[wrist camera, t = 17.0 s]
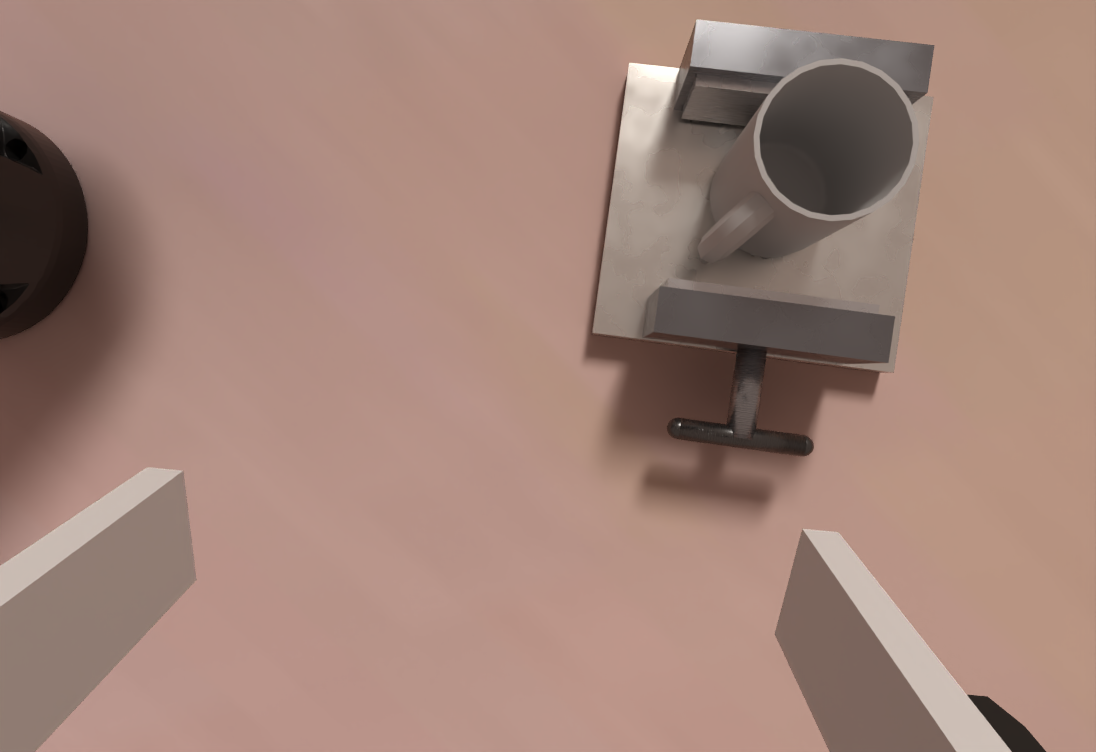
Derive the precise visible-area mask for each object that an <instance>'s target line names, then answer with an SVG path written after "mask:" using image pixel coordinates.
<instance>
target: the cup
mask: <svg viewBox="0 0 1096 752" xmlns="http://www.w3.org/2000/svg"><path fill="white" fill-rule="evenodd" d="M918 147H919V132H918V121H917V118H916V115H915V112H914V110H913V107H912V104H911V102H910V100H909V99H908V97H907V96H906V94H905V93H904V91H903V90H902V88H901V87H900V86H899V84H898V83H896V82H895V81H894V80H893V79H892V78H890V77H889V76H888V75H887V74H886V73H884V72H883V71H882V70H880V69H877V68H875V67H873V66H871V65H869V64H867V63H864V62H861V61H855V60H849V59H843V58H837V59H826V60H819V61H816V62H813V63H810V64H808V65H805V66H802V67H799V68H798V69H796V70H795V71H793V72H792V73H790V74H789V75H788V76H786V77H785V78H783V79H782V80H781V81H780V82H779V83H778V84H777V85H776V86H775V88H774V89H773V90H772V91H771V92H770V93H769V95H768V96H767V97H766V98H765V100H764V101H763V103H762V104H761V106H760V107H759V108H758V110H757V111H756V113H755V114H754V115H753V117H752V118H751V120H750V121H749V123H748V124H747V125H746V127H745V128H744V130H743V131H742V133H741V134H740V135H739V137H738V138H737V140H736V141H735V142H734V144H733V145H732V147H731V148H730V150H729V151H728V152H727V154H726V155H725V157H724V158H723V160H722V161H721V163H720V165H719V167H718V169H717V171H716V173H715V175H714V177H713V180H712V185H711V190H710V207H711V212H712V215H713V218H714V221H715V225H714V226H713V227H712V228H711V229H710V230H709V231H708V232H707V233H706V234H705V235H704V236H703V237H702V239H701V241H700V243H699V245H698V247H697V248H698V251H699V254H700V258H701V259H703V260H705V261H707V262H709V263H711V264H712V263H715V262H717V261H720V260H723V259H725V258H726V257H727V256H729V255H730V254H731V253H733V252H734V251H735V250H736V249H740V250H742V251H744V252H746V253H748V254H750V255H754V256H760V257H765V258H769V257H783V256H785V255H788V254H791V253H794V252H797V251H800V250H803V249H805V248H806V247H808V246H810V245H812V244H814V243H816V242H818V241H820V240H822V239H823V238H825V237H827V236H829V235H831V234H833V233H835V232H837V231H838V230H840V229H842V228H844V227H846V226H848V225H850V224H852V223H854V222H855V221H857V220H859V219H861V218H863V217H865V216H867V215H869V214H870V213H872V212H874V211H875V210H877V209H878V208H880V207H881V206H883V205H884V204H886V203H887V202H889V201H890V200H891V199H892V198H893V197H894V196H895V195H896V194H897V193H898V192H899V190H900V189H901V188H902V187H903V186H904V185H905V183H906V181H907V179H908V177H909V175H910V173H911V171H912V169H913V167H914V165H915V162H916V157H917V152H918Z"/></svg>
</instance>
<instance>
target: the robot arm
mask: <svg viewBox="0 0 1096 752" xmlns="http://www.w3.org/2000/svg"><path fill="white" fill-rule="evenodd" d="M86 241H87V212H86V205H85V200H84V196H83V192H82V189H81V186H80V183H79V181H78V178H77V176H76V174H75V172H74V170H73V168H72V166H71V165H70V163H69V162H68V160H67V158H66V157H65V156H64V154H63V153H62V152H61V151H60V149H59V148H58V147H57V146H56V145H55V144H54V143H53V142H52V141H51V140H50V139H49V138H48V137H46V136H45V135H44V134H43V133H41V132H40V131H39V130H37V129H36V128H34V127H33V126H31V125H29V124H27V123H25V122H23V121H21V120H19V119H17V118H15V117H12V116H10V115H8V114H6V113H3V112H1V111H0V338H4V337H8V336H11V335H14V334H16V333H19V332H21V331H23V330H25V329H27V328H29V327H31V326H33V325H34V324H36V323H37V322H39V321H40V320H41V319H43V318H44V317H45V316H46V315H48V314H49V313H50V312H51V311H52V310H53V309H54V308H55V307H56V306H57V305H58V304H59V303H60V301H61V300H62V299H63V297H64V296H65V295H66V293H67V292H68V290H69V289H70V287H71V285H72V284H73V282H74V280H75V278H76V276H77V274H78V271H79V269H80V266H81V263H82V260H83V256H84V252H85V247H86ZM195 581H196V572H195V564H194V556H193V547H192V539H191V531H190V522H189V514H188V506H187V497H186V489H185V481H184V472H183V471H182V470H171V469H160V468H150V467H147V468H145V469H144V470H142V471H141V472H139V473H138V474H136V475H135V476H133V477H132V478H130V479H129V480H127V481H126V482H124V483H123V484H121V485H120V486H118V487H117V488H115V489H114V490H113V491H111V492H110V493H108V494H107V495H105V496H104V497H102V498H101V499H99V500H98V501H96V502H95V503H93V504H92V505H90V506H89V507H87V508H86V509H84V510H83V511H81V512H80V513H78V514H77V515H75V516H74V517H72V518H71V519H69V520H68V521H66V522H65V523H63V524H62V525H60V526H59V527H57V528H56V529H54V530H53V531H51V532H50V533H48V534H47V535H45V536H44V537H42V538H41V539H40V540H38V541H37V542H35V543H34V544H32V545H31V546H29V547H28V548H26V549H25V550H23V551H22V552H20V553H19V554H17V555H16V556H14V557H13V558H11V559H10V560H8V561H7V562H5V563H4V564H2V565H1V566H0V752H35V751H36V750H37V749H38V748H39V747H40V746H41V745H42V744H43V743H44V742H45V741H46V740H47V739H48V737H49V736H50V735H51V734H52V733H53V732H54V731H55V730H56V729H57V728H58V727H59V726H60V725H61V724H62V723H63V722H64V720H65V719H66V718H67V717H68V716H69V715H70V714H71V713H72V712H73V711H74V710H75V709H76V708H77V707H78V706H79V704H80V703H81V702H82V701H83V700H84V699H85V698H86V697H87V696H88V695H89V694H90V693H91V692H92V691H93V690H94V688H95V687H96V686H97V685H98V684H99V683H100V682H101V681H102V680H103V679H104V678H105V677H106V676H107V675H108V674H109V672H110V671H111V670H112V669H113V668H114V667H115V666H116V665H117V664H118V663H119V662H120V661H121V660H122V659H123V658H124V656H125V655H126V654H127V653H128V652H129V651H130V650H131V649H132V648H133V647H134V646H135V645H136V644H137V643H138V642H139V641H140V639H141V638H142V637H143V636H144V635H145V634H146V633H147V632H148V631H149V630H150V629H151V628H152V627H153V626H154V625H155V623H156V622H157V621H158V620H159V619H160V618H161V617H162V616H163V615H164V614H165V613H166V612H167V611H168V610H169V609H170V607H171V606H172V605H173V604H174V603H175V602H176V601H177V600H178V599H179V598H180V597H181V596H182V595H183V594H184V593H185V591H186V590H187V589H188V588H189V587H190V586H191V585H192V584H193V583H194V582H195ZM775 636H776V638H777V640H778V642H779V644H780V646H781V649H782V651H783V653H784V655H785V657H786V659H787V661H788V664H789V666H790V668H791V670H792V672H793V674H794V676H795V679H796V681H797V683H798V685H799V687H800V689H801V691H802V694H803V696H804V698H805V700H806V702H807V704H808V706H809V709H810V711H811V713H812V715H813V717H814V719H815V721H816V724H817V726H818V728H819V730H820V732H821V734H822V736H823V739H824V741H825V743H826V745H827V747H828V749H829V751H830V752H1046V751H1045V750H1044V749H1043V747H1042V746H1041V745H1040V744H1039V743H1038V742H1037V740H1036V739H1035V738H1034V737H1033V736H1032V734H1031V733H1030V732H1029V731H1028V730H1027V729H1026V727H1025V726H1023V725H1022V724H1021V723H1020V722H1019V721H1017V720H1016V719H1015V718H1014V717H1012V716H1011V715H1010V714H1009V713H1007V712H1006V711H1005V710H1004V709H1002V708H1001V707H1000V706H999V705H997V704H996V703H995V702H994V701H992V700H991V699H990V698H989V697H986V696H976V695H967V694H966V693H965V692H964V691H963V689H962V688H961V687H960V686H959V684H958V683H957V682H956V681H955V679H954V678H953V677H952V675H951V674H950V673H949V672H948V670H947V669H946V668H945V667H944V665H943V664H942V663H941V662H940V660H939V659H938V658H937V656H936V655H935V654H934V653H933V651H932V650H931V649H930V648H929V646H928V645H927V644H926V643H925V641H924V640H923V639H922V637H921V636H920V635H919V634H918V632H917V631H916V630H915V629H914V627H913V626H912V625H911V624H910V622H909V621H908V620H907V618H906V617H905V616H904V615H903V613H902V612H901V611H900V610H899V608H898V607H897V606H896V605H895V603H894V602H893V601H892V599H891V598H890V597H889V596H888V594H887V593H886V592H885V591H884V589H883V588H882V587H881V586H880V584H879V583H878V582H877V580H876V579H875V578H874V577H873V575H872V574H871V573H870V572H869V570H868V569H867V568H866V566H865V565H864V564H863V563H862V561H861V560H860V559H859V558H858V556H857V555H856V554H855V553H854V551H853V550H852V549H851V547H850V546H849V545H848V544H847V542H846V541H845V540H844V539H843V537H842V536H841V535H840V534H839V532H831V531H820V530H810V529H802V532H801V536H800V540H799V543H798V547H797V551H796V555H795V559H794V563H793V566H792V570H791V574H790V578H789V582H788V585H787V589H786V593H785V597H784V601H783V605H782V608H781V612H780V616H779V620H778V624H777V627H776V631H775Z"/></svg>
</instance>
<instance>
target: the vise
mask: <svg viewBox="0 0 1096 752" xmlns="http://www.w3.org/2000/svg"><path fill="white" fill-rule="evenodd" d="M933 50H934V45H927V44H917V43H908V42H899V41H890V40H881V39H872V38H862V37H853V36H844V35H835V34H826V33H816V32H807V31H798V30H789V29H780V28H770V27H761V26H752V25H743V24H734V23H725V22H715V21H706V20H696V23H695V26H694V28H693V31H692V34H691V37H690V40H689V43H688V46H687V48H686V51H685V54H684V57H683V60H682V63H681V66H680V68H672V67H663V66H654V65H645V64H636V63H629V68H628V73H627V80H626V87H625V94H624V102H623V109H622V116H621V124H620V131H619V138H618V146H617V153H616V160H615V168H614V175H613V182H612V190H611V197H610V204H609V211H608V219H607V226H606V233H605V241H604V248H603V255H602V263H601V270H600V277H599V285H598V292H597V299H596V307H595V314H594V321H593V329H592V334H594V335H601V336H609V337H616V338H624V339H631V340H639V341H646V342H654V343H661V344H669V345H676V346H684V347H691V348H699V349H706V350H714V351H722V352H729V353H736V360H735V368H734V375H733V382H732V389H731V396H730V403H729V410H728V418H727V425H726V424H719V423H712V422H705V421H697V420H690V419H683V418H674V419H672V420H671V421H670V422H669V423H668V426H667V431H668V433H669V435H670V436H671V437H673V438H675V439H681V440H688V441H695V442H702V443H709V444H717V445H724V446H731V447H738V448H745V449H752V450H760V451H767V452H774V453H781V454H788V455H795V456H807V455H809V454H810V453H811V452H812V451H813V448H814V444H813V442H812V440H811V439H810V438H809V437H807V436H805V435H799V434H792V433H784V432H777V431H770V430H763V429H756V426H757V419H758V411H759V404H760V397H761V390H762V383H763V376H764V369H765V362H766V357H767V358H774V359H782V360H789V361H797V362H804V363H812V364H819V365H827V366H835V367H842V368H850V369H857V370H865V371H872V372H880V373H894V368H895V361H896V354H897V347H898V340H899V333H900V326H901V319H902V312H903V305H904V298H905V291H906V284H907V277H908V270H909V263H910V257H911V250H912V243H913V236H914V229H915V222H916V215H917V208H918V201H919V194H920V187H921V180H922V173H923V166H924V159H925V152H926V145H927V138H928V132H929V125H930V118H931V111H932V104H933V97H929V96H924V95H925V94H926V93H927V92H928V85H929V78H930V71H931V64H932V57H933ZM837 58H843V59H849V60H855V61H861V62H864V63H867V64H869V65H871V66H873V67H875V68H877V69H880V70H882V71H883V72H884V73H886V74H887V75H888V76H889V77H890V78H892V79H893V80H894V81H895V82H896V83H898V84H899V86H900V87H901V88H902V90H903V91H904V93H905V94H906V96H907V97H908V99H909V100H910V102H911V104H912V107H913V110H914V112H915V115H916V118H917V121H918V132H919V147H918V152H917V157H916V162H915V165H914V167H913V169H912V171H911V173H910V175H909V177H908V179H907V181H906V183H905V185H904V186H903V187H902V188H901V189H900V190H899V192H898V193H897V194H896V195H895V196H894V197H893V198H892V199H891V200H890V201H889V202H887V203H886V204H884V205H883V206H881V207H880V208H878V209H877V210H875V211H874V212H872V213H870V214H869V215H867V216H865V217H863V218H861V219H859V220H857V221H855V222H854V223H852V224H850V225H848V226H846V227H844V228H842V229H840V230H838V231H837V232H835V233H833V234H831V235H829V236H827V237H825V238H823V239H822V240H820V241H818V242H816V243H814V244H812V245H810V246H808V247H806V248H805V249H803V250H800V251H797V252H794V253H791V254H788V255H785V256H783V257H769V258H765V257H760V256H754V255H750V254H748V253H746V252H744V251H742V250H740V249H736V250H735V251H734V252H733V253H731V254H730V255H729V256H727V257H726V258H725V259H723V260H720V261H717V262H715V263H712V264H711V263H709V262H707V261H705V260H703V259H701V258H700V254H699V251H698V248H697V247H698V245H699V243H700V241H701V239H702V237H703V236H704V235H705V234H706V233H707V232H708V231H709V230H710V229H711V228H712V227H713V226H714V225H715V221H714V218H713V215H712V212H711V207H710V190H711V185H712V180H713V177H714V175H715V173H716V171H717V169H718V167H719V165H720V163H721V161H722V160H723V158H724V157H725V155H726V154H727V152H728V151H729V150H730V148H731V147H732V145H733V144H734V142H735V141H736V140H737V138H738V137H739V135H740V134H741V133H742V131H743V130H744V128H745V127H746V125H747V124H748V123H749V121H750V120H751V118H752V117H753V115H754V114H755V113H756V111H757V110H758V108H759V107H760V106H761V104H762V103H763V101H764V100H765V98H766V97H767V96H768V95H769V93H770V92H771V91H772V90H773V89H774V88H775V86H776V85H777V84H778V83H779V82H780V81H781V80H782V79H783V78H785V77H786V76H788V75H789V74H790V73H792V72H793V71H795V70H796V69H798V68H799V67H802V66H805V65H808V64H810V63H813V62H816V61H819V60H826V59H837Z"/></svg>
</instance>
